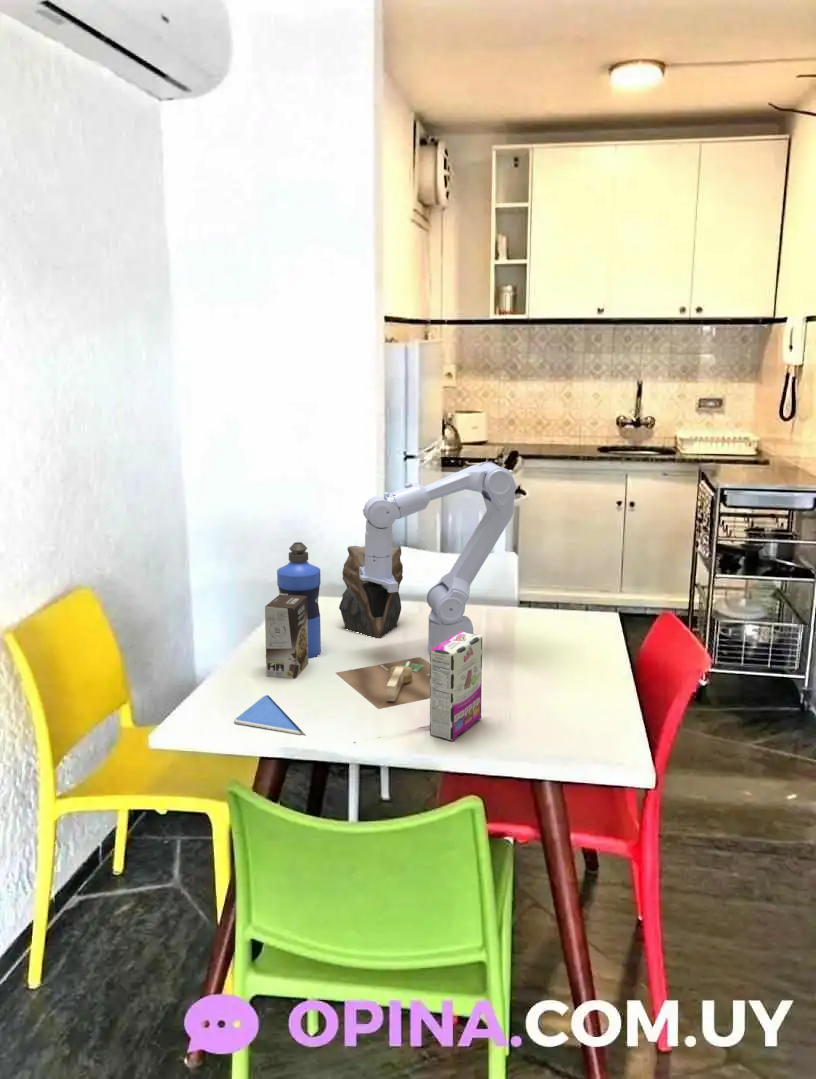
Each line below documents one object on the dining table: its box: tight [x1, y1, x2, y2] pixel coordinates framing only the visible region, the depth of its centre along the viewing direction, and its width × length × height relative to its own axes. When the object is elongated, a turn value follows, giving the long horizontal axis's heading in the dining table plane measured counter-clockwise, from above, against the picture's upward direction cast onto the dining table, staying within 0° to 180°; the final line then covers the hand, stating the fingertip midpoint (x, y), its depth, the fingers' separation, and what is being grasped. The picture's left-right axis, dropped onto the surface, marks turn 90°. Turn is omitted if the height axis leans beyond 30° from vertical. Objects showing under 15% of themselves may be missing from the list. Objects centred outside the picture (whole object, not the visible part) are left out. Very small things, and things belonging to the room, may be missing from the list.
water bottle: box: [276, 541, 322, 660], centre depth 192 cm, size 9×9×25 cm
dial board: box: [335, 656, 430, 710], centre depth 176 cm, size 20×20×1 cm
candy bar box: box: [429, 632, 483, 742], centre depth 157 cm, size 11×5×16 cm, turn 148°
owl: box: [338, 545, 404, 639], centre depth 210 cm, size 13×13×20 cm
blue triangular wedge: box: [233, 694, 307, 737], centre depth 162 cm, size 19×13×1 cm, turn 71°
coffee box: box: [264, 594, 309, 680], centre depth 180 cm, size 9×6×16 cm
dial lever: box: [386, 661, 412, 701], centre depth 175 cm, size 20×4×3 cm, turn 170°
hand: (377, 616), depth 187 cm, fingers closed
